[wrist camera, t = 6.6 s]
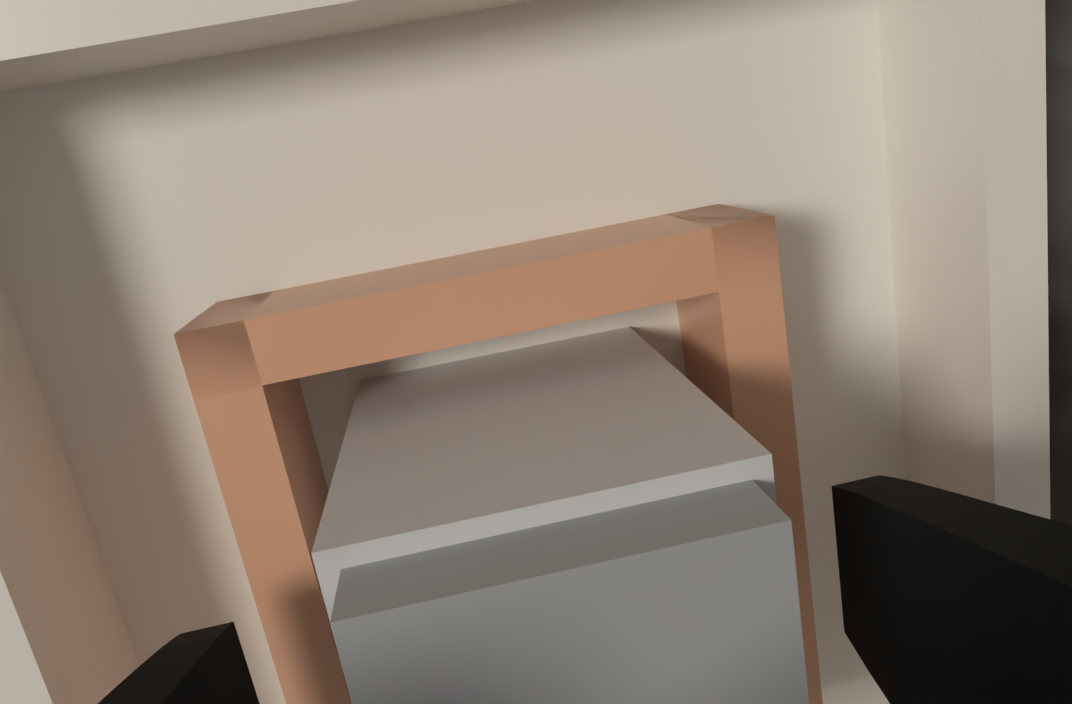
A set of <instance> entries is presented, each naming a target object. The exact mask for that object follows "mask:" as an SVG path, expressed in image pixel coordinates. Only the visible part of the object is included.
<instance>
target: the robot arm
mask: <svg viewBox="0 0 1072 704" xmlns="http://www.w3.org/2000/svg"><path fill="white" fill-rule="evenodd" d="M831 487H832V498H833V510H834V521H835V532H836V544H837V555H838V566H839V578H840V589H841V600H842V612H843V623H844V632H845V634H846V635H847V637H848V639H849V640H850V642H851V644H852V645H853V647H854V648H855V650H856V652H857V653H858V655H859V657H860V658H861V660H862V661H863V663H864V665H865V666H866V668H867V670H868V671H869V673H870V674H871V676H872V677H873V679H874V680H875V682H876V683H877V685H878V686H879V688H880V689H881V691H882V692H883V694H884V695H885V697H886V698H887V700H888V701H889V703H890V704H1072V525H1069V524H1066V523H1062V522H1058V521H1054V520H1051V519H1047V518H1043V517H1040V516H1036V515H1033V514H1029V513H1025V512H1022V511H1018V510H1015V509H1011V508H1008V507H1004V506H1000V505H997V504H993V503H990V502H986V501H983V500H979V499H976V498H972V497H969V496H965V495H962V494H958V493H954V492H951V491H947V490H944V489H940V488H936V487H932V486H928V485H925V484H921V483H917V482H913V481H908V480H904V479H899V478H894V477H888V476H882V475H878V476H873V477H869V478H864V479H860V480H855V481H851V482H847V483H842V484H838V485H833V486H831ZM98 704H260V703H259V700H258V697H257V694H256V691H255V688H254V684H253V681H252V678H251V675H250V672H249V669H248V665H247V662H246V659H245V656H244V653H243V650H242V646H241V643H240V640H239V637H238V634H237V631H236V627H235V624H234V622H229V623H225V624H221V625H216V626H212V627H207V628H203V629H198V630H194V631H190V632H185V633H181V634H179V635H178V636H176V637H175V638H173V639H172V640H171V641H169V642H168V643H166V644H165V645H164V646H163V647H161V648H160V649H159V650H158V651H156V652H155V653H154V654H153V655H152V656H151V657H149V658H148V659H147V660H146V661H145V662H144V663H142V664H141V665H140V666H139V667H138V668H137V669H135V670H134V671H133V672H132V673H131V674H130V675H129V676H128V677H127V678H125V679H124V680H123V681H122V682H121V683H120V684H119V685H118V686H116V687H115V688H114V689H113V690H112V691H111V692H110V693H109V694H108V695H106V696H105V697H104V698H103V699H102V700H101V701H100V702H99V703H98Z"/></svg>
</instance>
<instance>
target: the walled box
mask: <svg viewBox="0 0 1072 704" xmlns="http://www.w3.org/2000/svg"><path fill="white" fill-rule="evenodd" d="M624 327H630V328H631V329H632V330H634V331H635V332H636V333H637V334H638V335H639V336H640V337H641V338H643V339H644V340H645V341H646V342H647V343H648V344H649V345H650V346H652V347H653V348H654V349H655V350H656V351H657V352H658V353H659V354H660V355H662V356H663V357H664V358H665V359H666V360H667V361H668V362H669V363H671V364H672V365H673V366H674V367H675V368H676V369H677V370H678V371H680V372H681V373H682V374H683V375H684V376H685V377H686V378H687V379H688V380H690V381H691V382H692V383H693V384H694V385H695V386H696V387H697V388H699V389H700V390H701V391H702V392H703V393H704V394H705V395H706V396H708V397H709V398H710V399H711V400H712V401H713V402H714V403H715V404H716V405H718V406H719V407H720V408H721V409H722V410H723V411H724V412H725V413H727V414H728V415H729V416H730V417H731V418H732V419H733V420H734V421H736V422H737V423H738V424H739V425H740V426H741V427H742V428H743V429H744V430H746V431H747V432H748V433H749V434H750V435H751V436H752V437H753V438H755V439H756V440H757V441H758V442H759V443H760V444H761V445H762V446H764V447H765V448H766V449H767V450H768V451H769V452H770V453H771V454H772V461H773V471H774V481H775V491H776V501H777V506H778V507H779V508H780V509H781V510H782V511H783V512H784V513H785V514H786V515H787V516H788V517H789V518H790V519H791V522H792V532H793V542H794V553H795V563H796V574H797V584H798V594H799V605H800V615H801V625H802V636H803V646H804V657H805V667H806V677H807V688H808V698H809V704H890V703H889V701H888V700H887V698H886V697H885V695H884V694H883V692H882V691H881V689H880V688H879V686H878V685H877V683H876V682H875V680H874V679H873V677H872V676H871V674H870V673H869V671H868V670H867V668H866V666H865V665H864V663H863V661H862V660H861V658H860V657H859V655H858V653H857V652H856V650H855V648H854V647H853V645H852V644H851V642H850V640H849V639H848V637H847V635H846V634H845V632H844V623H843V612H842V600H841V589H840V578H839V566H838V555H837V544H836V532H835V521H834V510H833V498H832V487H831V486H833V485H838V484H842V483H847V482H851V481H855V480H860V479H864V478H869V477H873V476H878V475H882V476H888V477H894V478H899V479H904V480H908V481H913V482H917V483H921V484H925V485H928V486H932V487H936V488H940V489H944V490H947V491H951V492H954V493H958V494H962V495H965V496H969V497H972V498H976V499H979V500H983V501H986V502H990V503H993V504H997V505H1000V506H1004V507H1008V508H1011V509H1015V510H1018V511H1022V512H1025V513H1029V514H1033V515H1036V516H1040V517H1043V518H1047V519H1050V433H1049V335H1048V238H1047V140H1046V43H1045V0H0V704H98V703H99V702H100V701H101V700H102V699H103V698H104V697H105V696H106V695H108V694H109V693H110V692H111V691H112V690H113V689H114V688H115V687H116V686H118V685H119V684H120V683H121V682H122V681H123V680H124V679H125V678H127V677H128V676H129V675H130V674H131V673H132V672H133V671H134V670H135V669H137V668H138V667H139V666H140V665H141V664H142V663H144V662H145V661H146V660H147V659H148V658H149V657H151V656H152V655H153V654H154V653H155V652H156V651H158V650H159V649H160V648H161V647H163V646H164V645H165V644H166V643H168V642H169V641H171V640H172V639H173V638H175V637H176V636H178V635H179V634H181V633H185V632H190V631H194V630H198V629H203V628H207V627H212V626H216V625H221V624H225V623H229V622H234V624H235V627H236V631H237V634H238V637H239V640H240V643H241V646H242V650H243V653H244V656H245V659H246V662H247V665H248V669H249V672H250V675H251V678H252V681H253V684H254V688H255V691H256V694H257V697H258V700H259V703H260V704H352V702H351V699H350V695H349V691H348V688H347V684H346V680H345V677H344V673H343V669H342V666H341V662H340V658H339V655H338V651H337V647H336V644H335V640H334V636H333V633H332V629H331V625H330V621H329V617H328V613H327V610H326V606H325V602H324V599H323V595H322V591H321V587H320V584H319V580H318V576H317V573H316V569H315V565H314V562H313V558H312V554H311V552H312V548H313V545H314V541H315V538H316V534H317V531H318V527H319V524H320V520H321V517H322V513H323V510H324V506H325V503H326V499H327V496H328V492H329V489H330V485H331V482H332V478H333V475H334V471H335V468H336V464H337V461H338V457H339V454H340V450H341V447H342V443H343V440H344V436H345V433H346V429H347V426H348V422H349V419H350V415H351V412H352V408H353V404H354V401H355V397H356V394H357V390H358V387H359V383H360V380H363V379H368V378H373V377H378V376H383V375H388V374H393V373H398V372H403V371H408V370H413V369H418V368H424V367H429V366H434V365H439V364H444V363H449V362H454V361H459V360H464V359H469V358H474V357H479V356H484V355H489V354H494V353H499V352H504V351H509V350H514V349H519V348H524V347H529V346H534V345H539V344H544V343H549V342H554V341H559V340H564V339H569V338H574V337H579V336H584V335H589V334H594V333H599V332H604V331H609V330H614V329H619V328H624Z"/></svg>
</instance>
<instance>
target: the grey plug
mask: <svg viewBox="0 0 1072 704" xmlns="http://www.w3.org/2000/svg"><path fill="white" fill-rule="evenodd" d="M311 554H312V558H313V562H314V565H315V569H316V573H317V576H318V580H319V584H320V587H321V591H322V595H323V599H324V602H325V606H326V610H327V613H328V617H329V621H330V625H331V629H332V633H333V636H334V640H335V644H336V647H337V651H338V655H339V658H340V662H341V666H342V669H343V673H344V677H345V680H346V684H347V688H348V691H349V695H350V699H351V702H352V704H809V698H808V688H807V677H806V667H805V657H804V646H803V636H802V625H801V615H800V605H799V594H798V584H797V574H796V563H795V553H794V542H793V532H792V522H791V519H790V518H789V517H788V516H787V515H786V514H785V513H784V512H783V511H782V510H781V509H780V508H779V507H778V506H777V501H776V491H775V481H774V471H773V461H772V454H771V453H770V452H769V451H768V450H767V449H766V448H765V447H764V446H762V445H761V444H760V443H759V442H758V441H757V440H756V439H755V438H753V437H752V436H751V435H750V434H749V433H748V432H747V431H746V430H744V429H743V428H742V427H741V426H740V425H739V424H738V423H737V422H736V421H734V420H733V419H732V418H731V417H730V416H729V415H728V414H727V413H725V412H724V411H723V410H722V409H721V408H720V407H719V406H718V405H716V404H715V403H714V402H713V401H712V400H711V399H710V398H709V397H708V396H706V395H705V394H704V393H703V392H702V391H701V390H700V389H699V388H697V387H696V386H695V385H694V384H693V383H692V382H691V381H690V380H688V379H687V378H686V377H685V376H684V375H683V374H682V373H681V372H680V371H678V370H677V369H676V368H675V367H674V366H673V365H672V364H671V363H669V362H668V361H667V360H666V359H665V358H664V357H663V356H662V355H660V354H659V353H658V352H657V351H656V350H655V349H654V348H653V347H652V346H650V345H649V344H648V343H647V342H646V341H645V340H644V339H643V338H641V337H640V336H639V335H638V334H637V333H636V332H635V331H634V330H632V329H631V328H630V327H624V328H619V329H614V330H609V331H604V332H599V333H594V334H589V335H584V336H579V337H574V338H569V339H564V340H559V341H554V342H549V343H544V344H539V345H534V346H529V347H524V348H519V349H514V350H509V351H504V352H499V353H494V354H489V355H484V356H479V357H474V358H469V359H464V360H459V361H454V362H449V363H444V364H439V365H434V366H429V367H424V368H418V369H413V370H408V371H403V372H398V373H393V374H388V375H383V376H378V377H373V378H368V379H363V380H360V383H359V387H358V390H357V394H356V397H355V401H354V404H353V408H352V412H351V415H350V419H349V422H348V426H347V429H346V433H345V436H344V440H343V443H342V447H341V450H340V454H339V457H338V461H337V464H336V468H335V471H334V475H333V478H332V482H331V485H330V489H329V492H328V496H327V499H326V503H325V506H324V510H323V513H322V517H321V520H320V524H319V527H318V531H317V534H316V538H315V541H314V545H313V548H312V552H311Z"/></svg>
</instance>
